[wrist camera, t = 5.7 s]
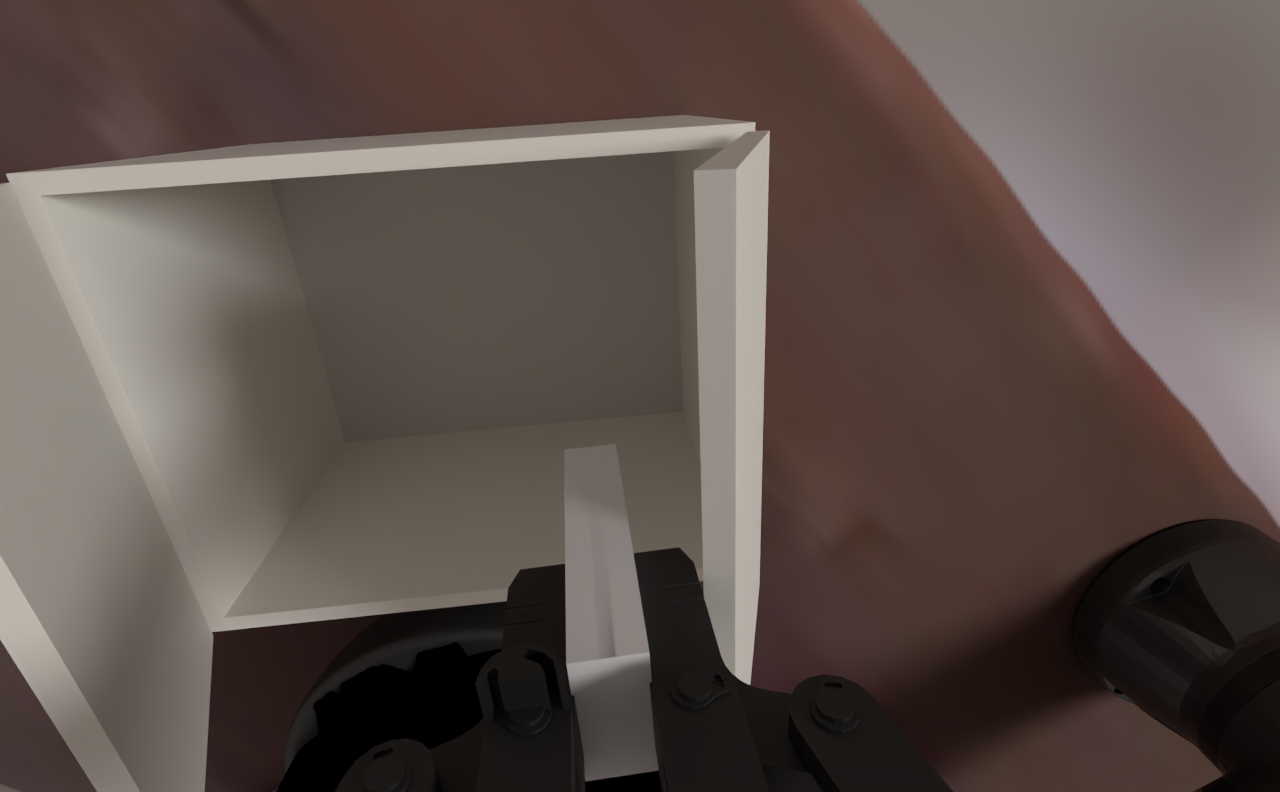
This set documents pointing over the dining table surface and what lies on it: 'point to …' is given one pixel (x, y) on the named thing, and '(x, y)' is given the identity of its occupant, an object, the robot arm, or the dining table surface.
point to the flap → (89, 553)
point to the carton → (391, 350)
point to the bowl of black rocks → (404, 695)
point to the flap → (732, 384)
